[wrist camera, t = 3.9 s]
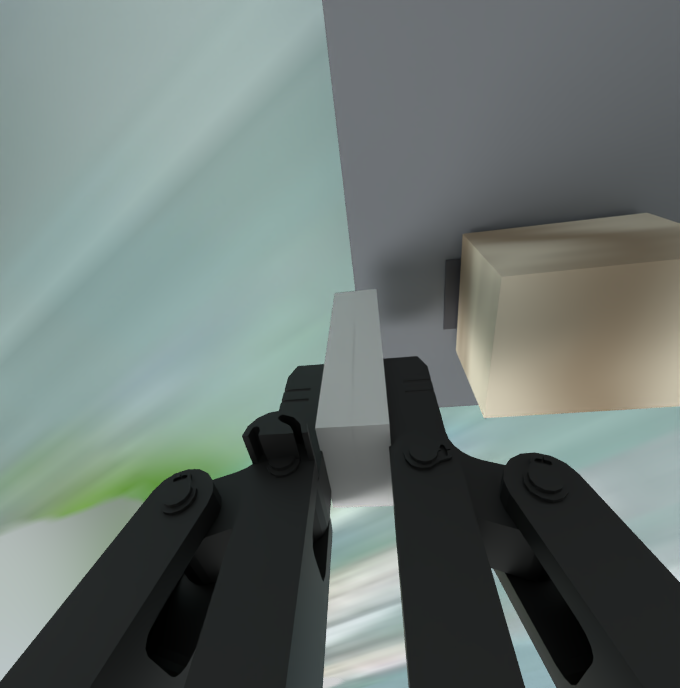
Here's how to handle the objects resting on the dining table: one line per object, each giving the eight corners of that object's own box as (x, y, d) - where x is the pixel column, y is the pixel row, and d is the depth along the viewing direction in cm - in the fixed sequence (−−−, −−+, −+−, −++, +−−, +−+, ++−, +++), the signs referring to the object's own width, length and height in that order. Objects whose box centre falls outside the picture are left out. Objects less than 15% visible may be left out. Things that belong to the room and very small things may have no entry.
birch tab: (455, 350, 15) (484, 417, 12) (462, 233, 12) (501, 276, 9) (605, 338, 14) (681, 406, 11) (647, 212, 12) (762, 250, 8)
